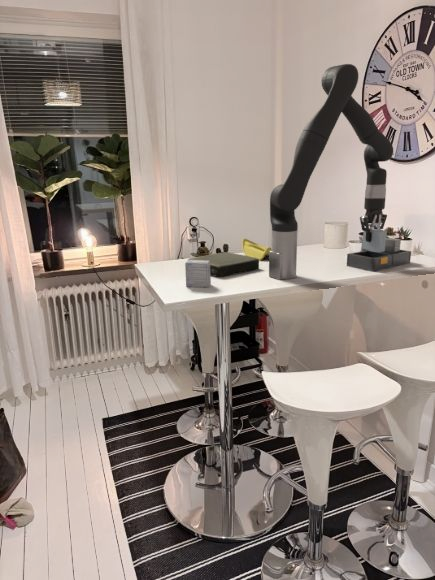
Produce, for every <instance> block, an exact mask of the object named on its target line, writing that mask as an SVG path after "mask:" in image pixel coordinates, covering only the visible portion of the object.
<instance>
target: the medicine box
mask: <svg viewBox="0 0 435 580" xmlns="http://www.w3.org/2000/svg"><path fill="white" fill-rule="evenodd" d="M184 265H185V268H184V269H185V285H186V286H185V287H186V288H209V287H210V286H211V285H212V281H211V278H212V277H211V276H212V275H211V274H210V261H202V260H189V261H188V260H187V261H186V262H185V263H184Z"/></svg>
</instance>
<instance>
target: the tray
mask: <svg viewBox="0 0 435 580" xmlns="http://www.w3.org/2000/svg"><path fill="white" fill-rule="evenodd" d="M401 241H402V239H400V238H399V239H398V238H391V237H386V243H385V251H383V252H375V251H370V250H361V251H360V250H359V251H355V252H350V253H347V254H346V256H347V257H346V267H351V268H354V269H358V270H364V271H369V272H371V273H372V272H377V271H381V270H386V269H391V268H395V267H399V266H403V265H407V264H411V256H412V251H411V250H406V249H401Z"/></svg>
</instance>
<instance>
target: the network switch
mask: <svg viewBox="0 0 435 580" xmlns="http://www.w3.org/2000/svg"><path fill="white" fill-rule="evenodd" d="M189 260H202V261H210V276H213V277H217V278H224V277H229V276H233V275H237V274H242V273H246V272H247V273H249V272H252V271H257V270H259V268H260V261H259V259H258V258H254V257H249V256H246V255H245V254H244V255H243V254H239V253H233V252H227V251H223V252H216V253H213V254H206V255H202V256H196V257H189V258H188V259H187V261H189Z"/></svg>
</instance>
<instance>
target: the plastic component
mask: <svg viewBox="0 0 435 580" xmlns="http://www.w3.org/2000/svg"><path fill="white" fill-rule="evenodd" d="M241 249H242V252H243V254H244V256H249V257H254V258H258V259H259V262H260V261H263V259H264V258H265V257H266V256H269V252H270V251H271V247H269V246H265V245H264V246H263V245H262V244H258V243H256V242H254V241H251V240H250V239H247V238H245V237H244V238H242V241H241Z"/></svg>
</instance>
